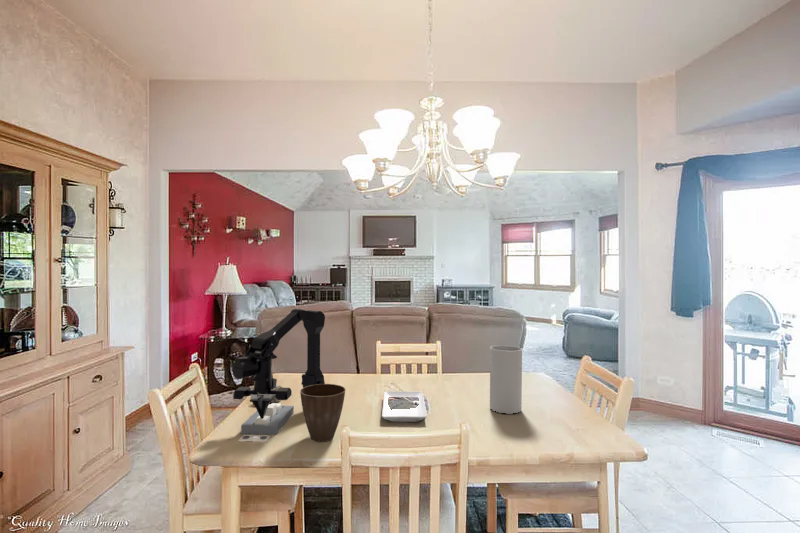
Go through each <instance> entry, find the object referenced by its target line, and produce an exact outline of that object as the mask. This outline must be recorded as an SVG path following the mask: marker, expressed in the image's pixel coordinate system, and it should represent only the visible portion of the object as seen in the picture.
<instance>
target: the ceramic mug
mask: <svg viewBox="0 0 800 533" xmlns="http://www.w3.org/2000/svg"><path fill="white" fill-rule="evenodd" d="M279 388H283V386H282V385H279V384H277V383H276V388H274V389H271V390H276V391H277V390H278V389H279ZM264 398H265V397H264V396H263V399H264ZM280 401H281V400H277V399H276V398H274V399H273V400H272V401H271V402H270V403H279V402H280Z"/></svg>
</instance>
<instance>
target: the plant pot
mask: <svg viewBox="0 0 800 533" xmlns="http://www.w3.org/2000/svg"><path fill="white" fill-rule="evenodd" d="M299 394H300V399H301V400H300V402H301V408H302V412H303V413H302V414H303V417H304V421H305V424H306V428H307V431H308V434H309V437H310V439H311V440H312V441H313V442H318V443H319V442H320V443H322V442H328V441H331V440H333V438H334V436H335V434H336V431H337V428H338V425H339V423H340V422H339V421H340V419H341V415H342V412H343V411H342V410H343V406H344V401H345V396H346V388H345V386H342V385H339V384H333V383H325V384H316V385H310V386H306V387H304V388H303V387H301V389H300V390H299Z"/></svg>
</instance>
